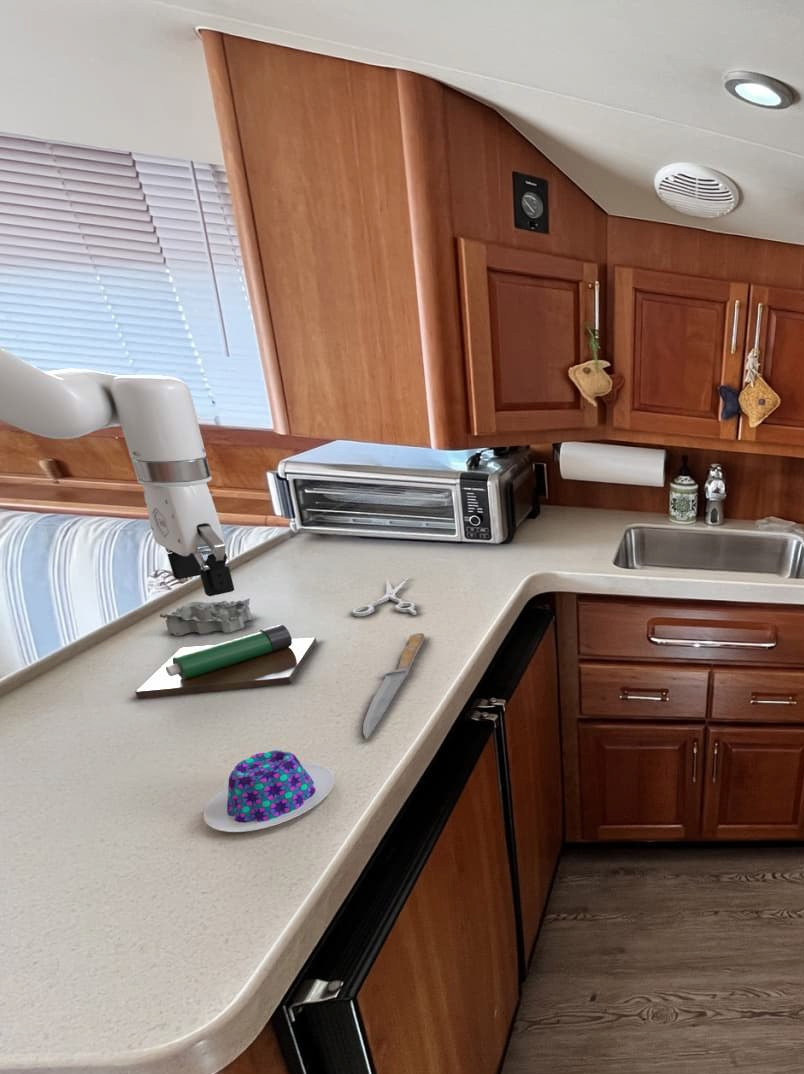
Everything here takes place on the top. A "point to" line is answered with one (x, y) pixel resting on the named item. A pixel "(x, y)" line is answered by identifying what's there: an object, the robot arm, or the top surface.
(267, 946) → the top surface
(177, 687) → the board
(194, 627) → the egg carton
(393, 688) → the knife
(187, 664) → the marker
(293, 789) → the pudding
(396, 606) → the scissors
